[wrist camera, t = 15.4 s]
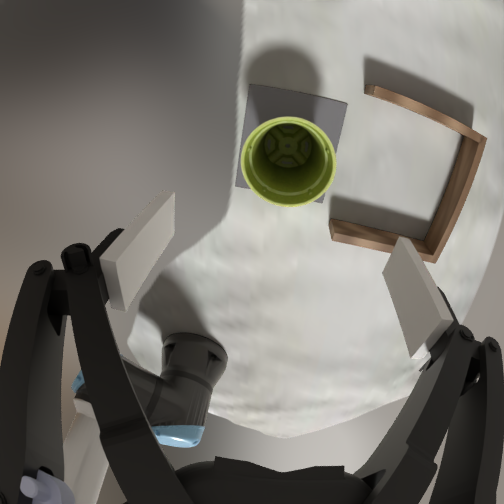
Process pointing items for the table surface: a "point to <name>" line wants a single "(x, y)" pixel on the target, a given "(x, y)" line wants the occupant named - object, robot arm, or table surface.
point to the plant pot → (288, 175)
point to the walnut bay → (451, 199)
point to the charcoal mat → (290, 104)
